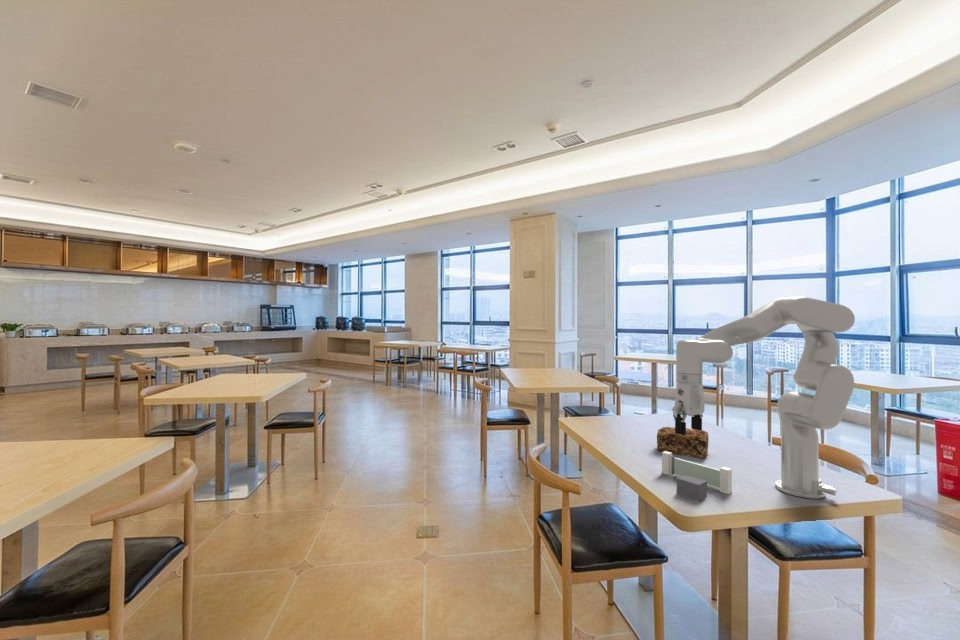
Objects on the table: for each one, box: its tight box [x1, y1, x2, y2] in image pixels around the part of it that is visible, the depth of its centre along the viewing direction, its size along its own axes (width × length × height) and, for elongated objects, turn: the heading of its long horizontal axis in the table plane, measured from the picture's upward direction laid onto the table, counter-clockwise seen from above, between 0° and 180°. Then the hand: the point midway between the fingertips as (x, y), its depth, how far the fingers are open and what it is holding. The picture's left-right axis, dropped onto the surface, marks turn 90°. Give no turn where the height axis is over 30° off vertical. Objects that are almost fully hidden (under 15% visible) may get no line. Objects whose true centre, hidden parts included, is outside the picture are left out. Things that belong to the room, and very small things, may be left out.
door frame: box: [661, 451, 733, 495], centre depth 138 cm, size 22×2×8 cm, turn 36°
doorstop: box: [676, 474, 708, 502], centre depth 128 cm, size 7×5×5 cm
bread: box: [656, 426, 709, 459], centre depth 169 cm, size 19×11×10 cm, turn 56°
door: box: [670, 455, 720, 488], centre depth 138 cm, size 16×1×6 cm, turn 36°
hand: (688, 431), depth 130 cm, fingers open, 9 cm apart
